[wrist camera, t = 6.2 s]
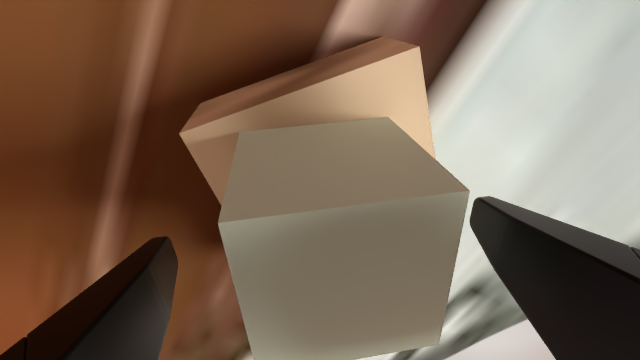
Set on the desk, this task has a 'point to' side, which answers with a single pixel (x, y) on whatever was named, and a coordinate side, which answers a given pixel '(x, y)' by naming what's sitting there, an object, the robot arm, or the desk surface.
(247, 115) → the oak block
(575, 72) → the desk surface
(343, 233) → the cube
